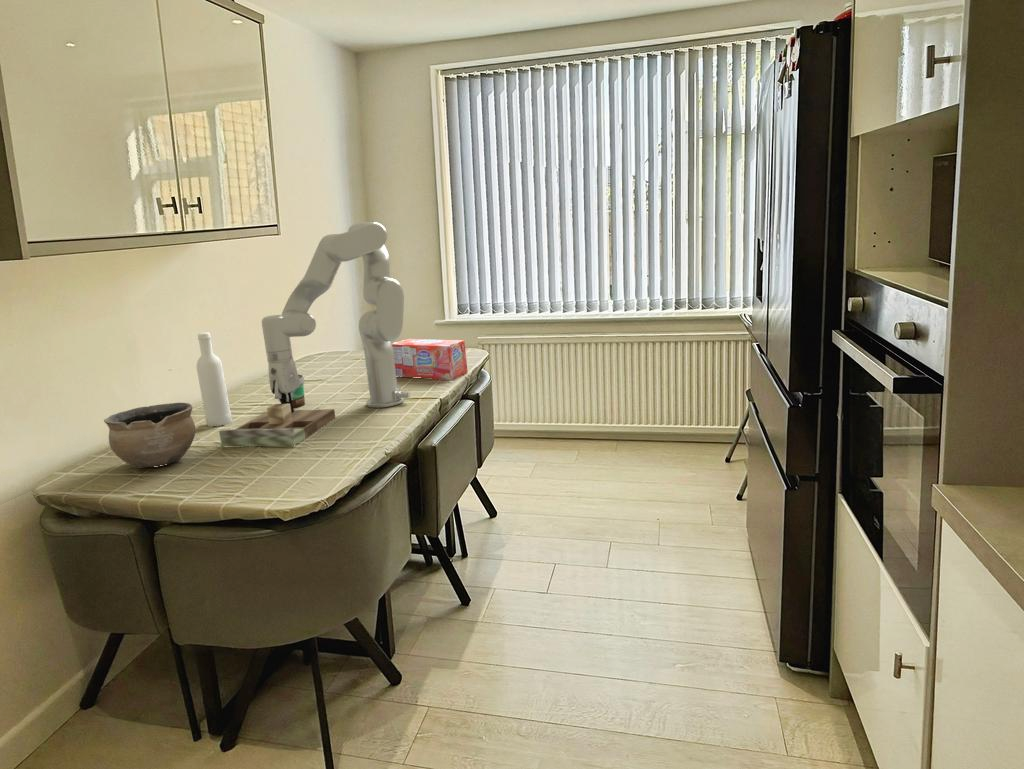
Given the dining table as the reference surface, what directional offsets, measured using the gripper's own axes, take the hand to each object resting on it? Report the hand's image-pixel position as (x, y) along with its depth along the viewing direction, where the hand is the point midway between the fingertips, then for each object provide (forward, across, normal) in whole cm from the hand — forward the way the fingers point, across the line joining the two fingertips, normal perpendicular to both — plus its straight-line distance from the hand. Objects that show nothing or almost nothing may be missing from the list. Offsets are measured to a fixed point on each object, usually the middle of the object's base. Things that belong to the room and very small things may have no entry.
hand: (288, 413), depth 235 cm
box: (+4, +66, -25) cm, 71 cm away
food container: (+4, +25, +10) cm, 27 cm away
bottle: (+5, +5, +28) cm, 29 cm away
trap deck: (+4, -6, 0) cm, 7 cm away
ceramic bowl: (+5, -33, +22) cm, 40 cm away
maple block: (+1, -5, 0) cm, 5 cm away
